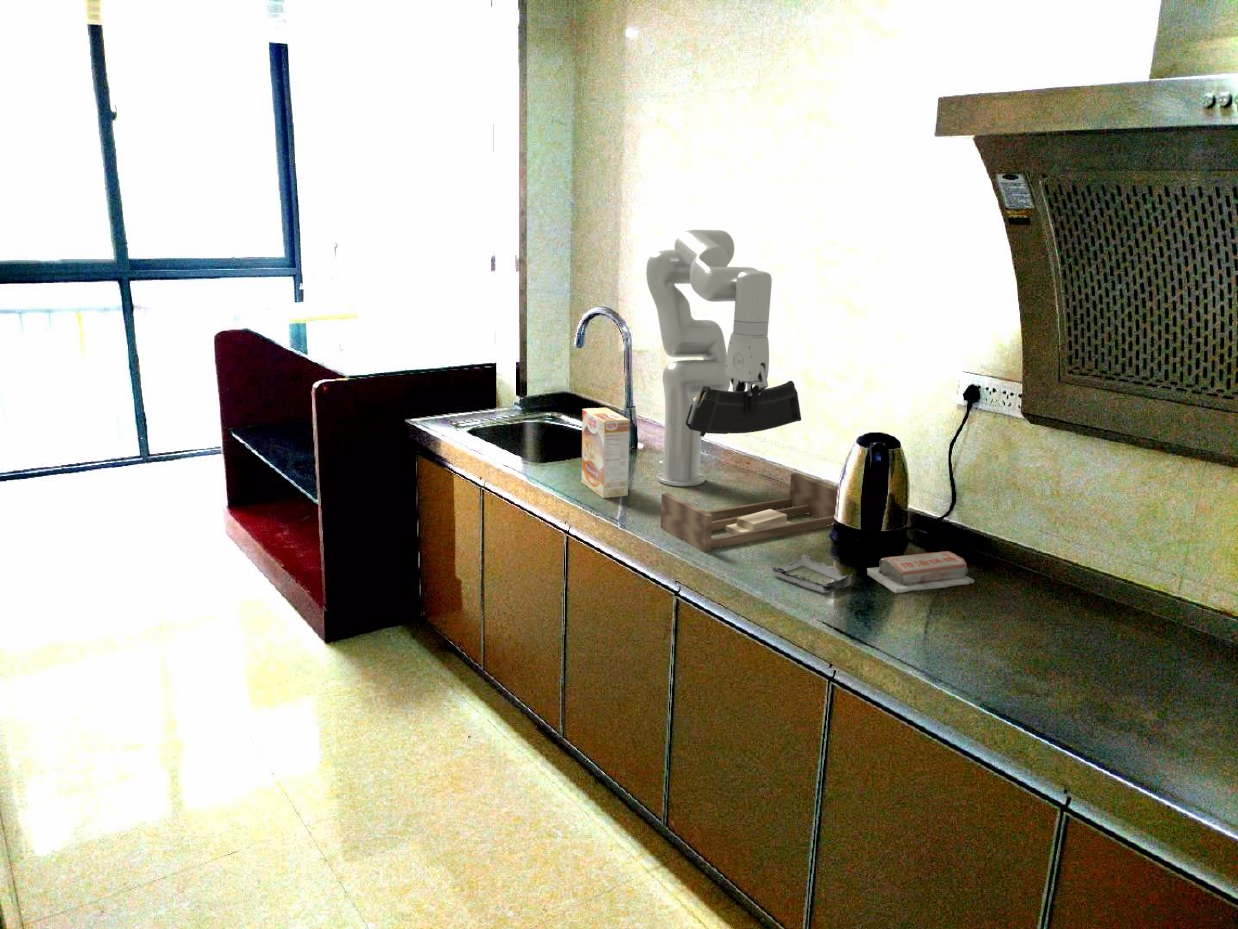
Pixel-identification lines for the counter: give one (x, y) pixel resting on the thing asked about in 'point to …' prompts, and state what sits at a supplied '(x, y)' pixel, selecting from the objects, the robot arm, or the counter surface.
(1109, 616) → the counter surface
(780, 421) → the magazine
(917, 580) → the packaged product
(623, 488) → the coffeecake box
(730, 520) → the walnut rack
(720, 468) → the counter surface
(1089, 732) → the counter surface
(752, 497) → the counter surface
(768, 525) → the offcut stack
